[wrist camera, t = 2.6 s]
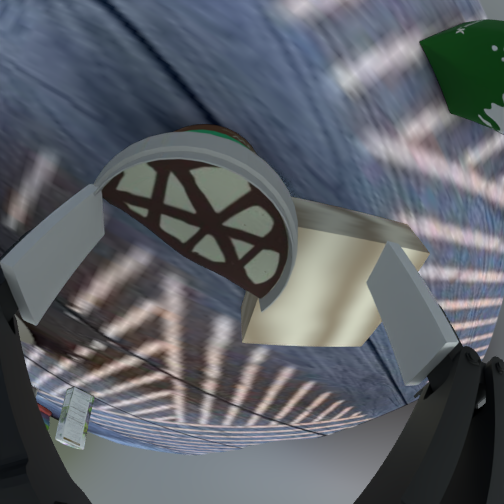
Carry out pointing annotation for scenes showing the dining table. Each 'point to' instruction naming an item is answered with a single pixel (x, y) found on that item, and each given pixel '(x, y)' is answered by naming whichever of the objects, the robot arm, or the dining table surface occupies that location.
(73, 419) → the syrup box
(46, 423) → the stacking bear
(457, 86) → the milk carton
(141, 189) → the food container
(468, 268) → the dining table surface
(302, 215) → the birch riser block
